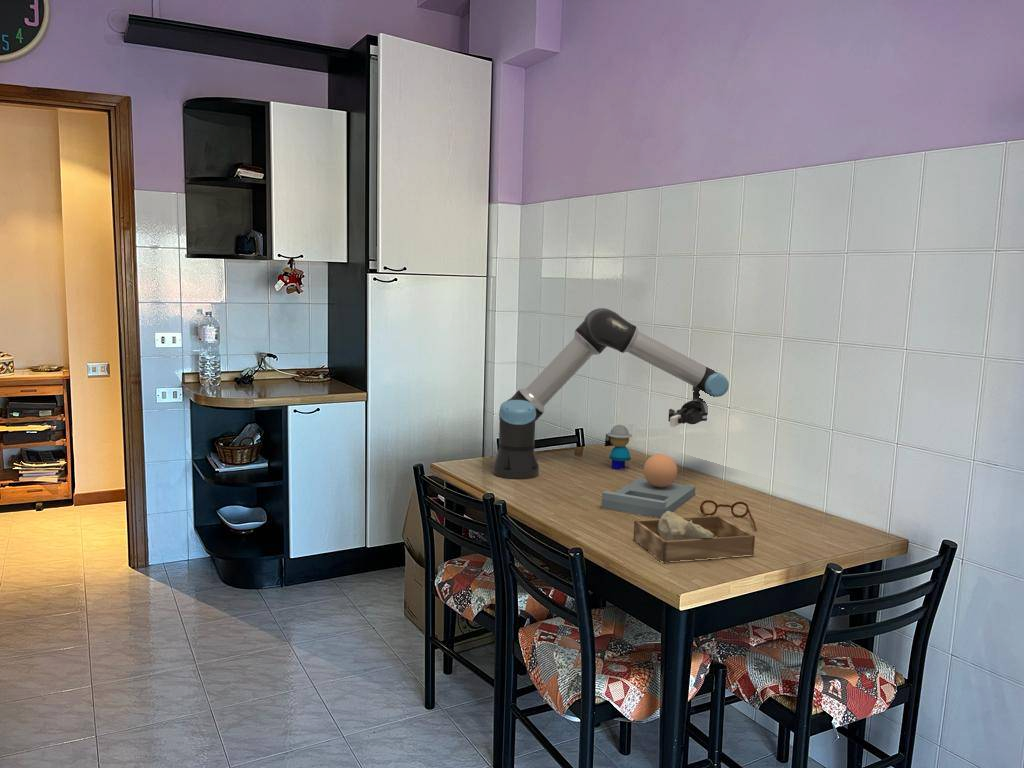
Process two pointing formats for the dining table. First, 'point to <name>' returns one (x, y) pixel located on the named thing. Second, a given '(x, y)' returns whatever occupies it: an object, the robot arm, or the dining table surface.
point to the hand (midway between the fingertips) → (672, 422)
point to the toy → (618, 446)
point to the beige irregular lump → (680, 528)
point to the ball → (660, 470)
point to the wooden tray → (696, 540)
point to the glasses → (727, 506)
